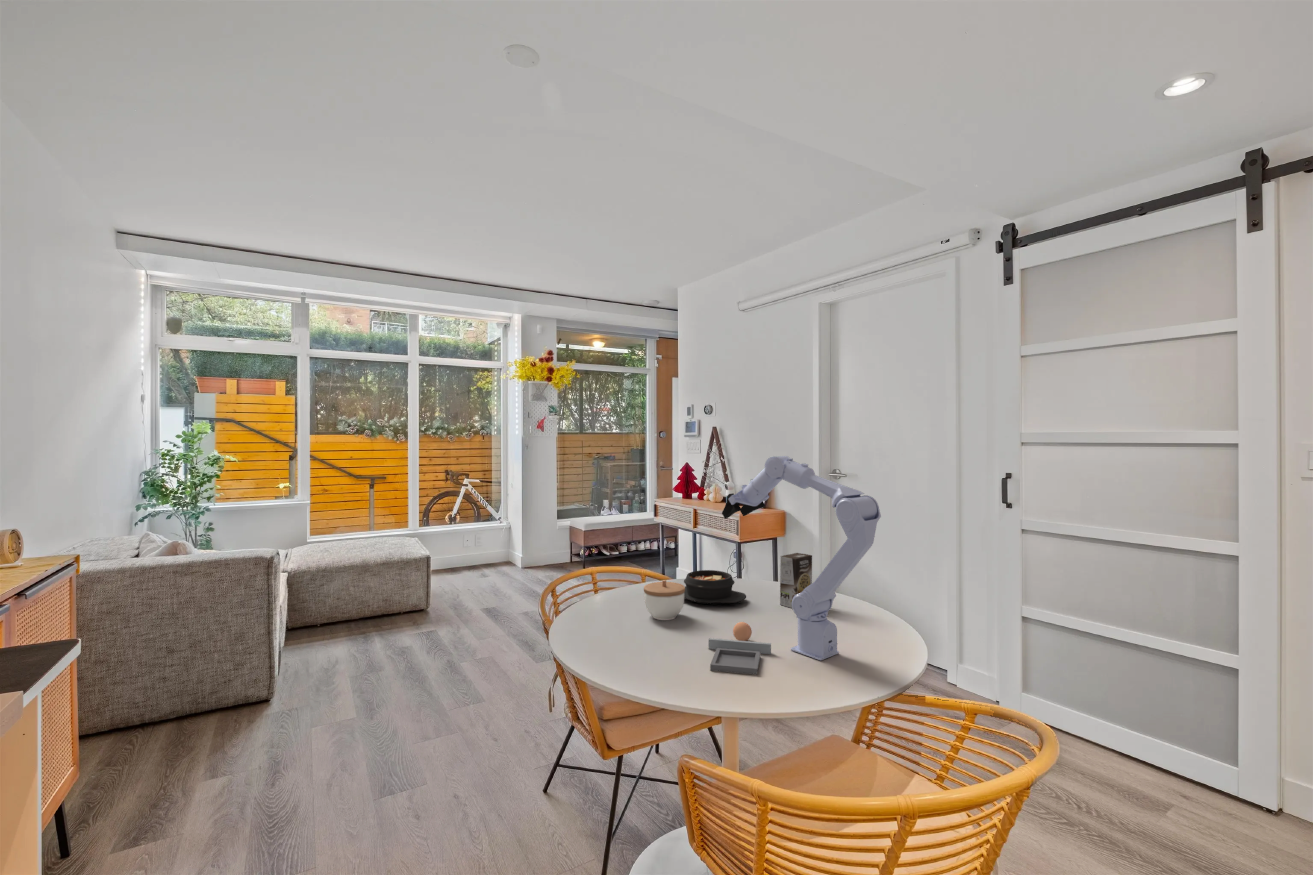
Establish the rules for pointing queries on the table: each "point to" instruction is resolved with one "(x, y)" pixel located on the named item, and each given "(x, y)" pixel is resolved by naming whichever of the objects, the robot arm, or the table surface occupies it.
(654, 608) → the lidded bowl
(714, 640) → the divider
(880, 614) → the table surface
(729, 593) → the casserole
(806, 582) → the coffee box
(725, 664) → the coaster
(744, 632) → the ball
